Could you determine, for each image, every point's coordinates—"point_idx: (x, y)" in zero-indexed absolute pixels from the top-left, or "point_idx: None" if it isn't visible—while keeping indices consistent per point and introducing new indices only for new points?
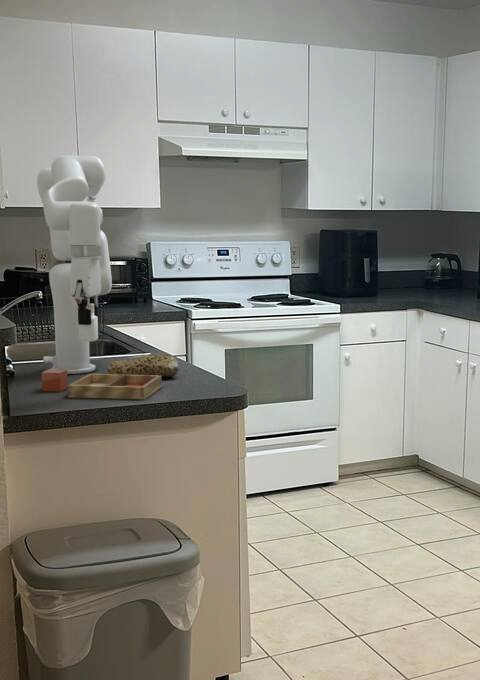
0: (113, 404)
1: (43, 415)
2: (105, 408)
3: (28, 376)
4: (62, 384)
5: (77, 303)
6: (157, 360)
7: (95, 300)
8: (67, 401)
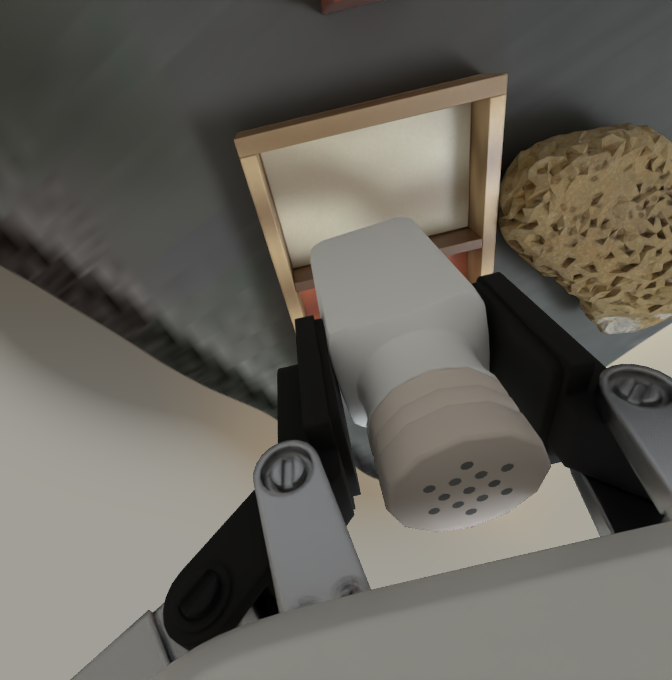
0: (223, 331)
1: None
2: (170, 339)
3: None
4: (351, 5)
5: (181, 578)
6: (631, 293)
7: (600, 526)
8: (180, 175)
